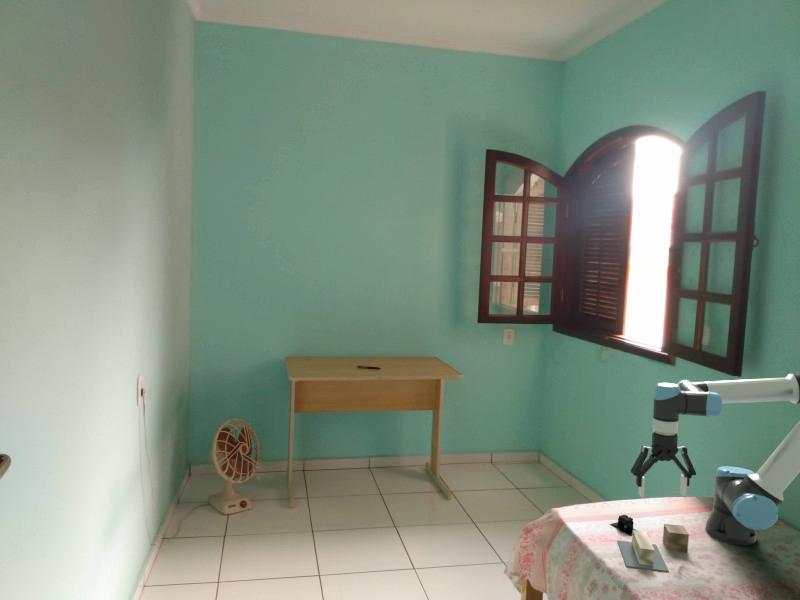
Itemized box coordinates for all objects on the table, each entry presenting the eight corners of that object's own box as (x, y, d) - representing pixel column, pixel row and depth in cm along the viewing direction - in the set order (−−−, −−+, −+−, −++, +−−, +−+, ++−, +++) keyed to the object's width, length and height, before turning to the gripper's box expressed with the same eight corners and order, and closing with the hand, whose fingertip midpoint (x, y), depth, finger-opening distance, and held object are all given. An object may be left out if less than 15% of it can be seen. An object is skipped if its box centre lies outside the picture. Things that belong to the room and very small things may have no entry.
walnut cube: (682, 543, 200) (683, 525, 200) (687, 552, 195) (688, 534, 194) (662, 541, 201) (664, 523, 201) (667, 550, 196) (668, 532, 195)
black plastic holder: (647, 536, 206) (648, 523, 205) (631, 540, 202) (632, 527, 202) (618, 520, 216) (619, 507, 216) (603, 524, 213) (604, 511, 213)
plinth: (644, 546, 197) (645, 531, 196) (653, 565, 185) (654, 549, 184) (631, 544, 197) (632, 529, 197) (639, 564, 186) (640, 548, 185)
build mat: (656, 545, 198) (656, 544, 198) (668, 572, 182) (668, 570, 182) (617, 541, 200) (617, 540, 200) (626, 567, 184) (626, 565, 184)
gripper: (697, 428, 199) (694, 490, 201) (621, 428, 198) (619, 491, 201) (709, 435, 191) (706, 500, 193) (630, 435, 191) (628, 500, 193)
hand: (662, 495), depth 197 cm, fingers open, 13 cm apart
